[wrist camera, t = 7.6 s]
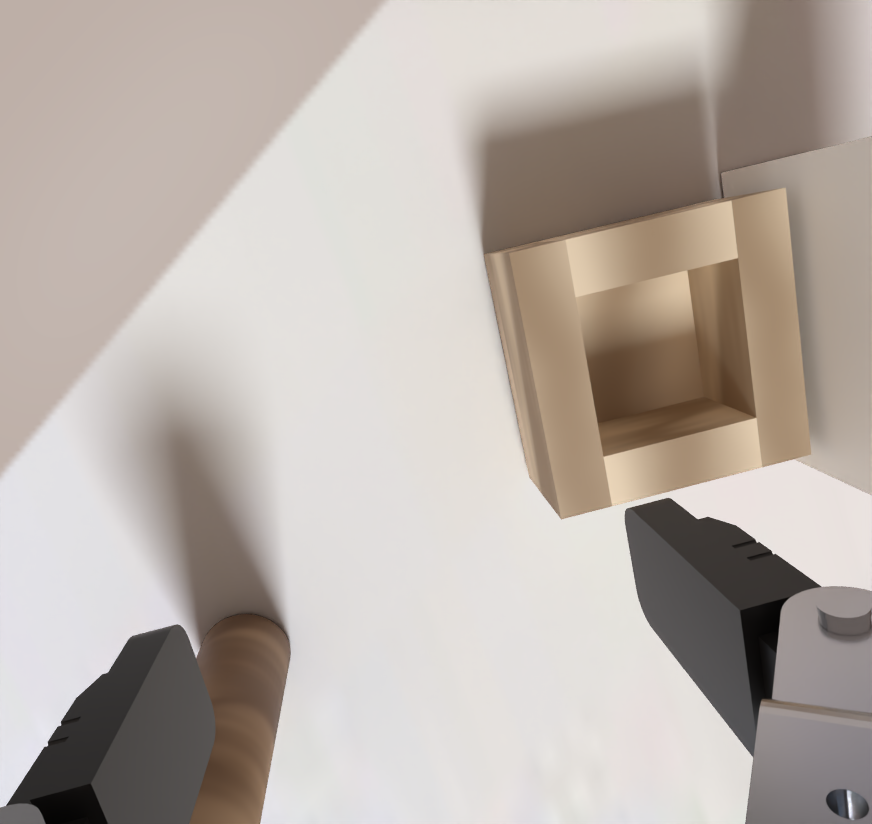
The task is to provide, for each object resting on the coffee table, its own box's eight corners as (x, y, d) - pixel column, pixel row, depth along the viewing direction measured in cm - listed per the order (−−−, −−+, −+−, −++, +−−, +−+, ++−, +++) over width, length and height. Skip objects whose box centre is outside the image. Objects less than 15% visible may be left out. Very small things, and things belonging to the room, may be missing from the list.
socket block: (713, 199, 28) (785, 187, 23) (740, 423, 31) (811, 454, 26) (483, 254, 28) (509, 253, 23) (529, 477, 30) (561, 519, 25)
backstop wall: (810, 151, 28) (1041, 96, 19) (833, 419, 31) (1044, 490, 22) (721, 172, 28) (907, 127, 19) (752, 439, 31) (928, 521, 21)
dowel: (277, 604, 30) (223, 817, 19) (300, 679, 31) (264, 926, 20) (189, 627, 30) (81, 856, 19) (216, 702, 31) (128, 964, 20)
